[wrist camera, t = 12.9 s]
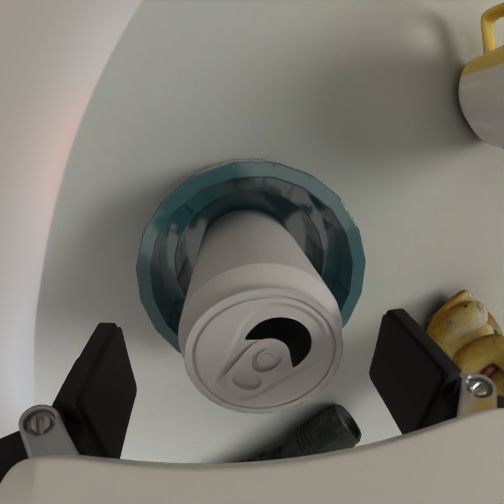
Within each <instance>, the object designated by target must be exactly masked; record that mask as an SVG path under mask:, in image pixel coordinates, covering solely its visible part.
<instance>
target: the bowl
mask: <svg viewBox="0 0 504 504" xmlns="http://www.w3.org/2000/svg"><path fill="white" fill-rule="evenodd" d="M241 209H255V210H260V211H264V212H266V213H269V214H271V215H272V216H274V217H276V218H277V219H278V220H280V221H281V222H282V223H283V224H284V225H285V227H286V228H287V229H288V231H289V232H290V234H291V235H292V236H293V238H294V239H295V241H296V242H297V244H298V245H299V246H300V248H301V249H302V251H303V252H304V254H305V255H306V257H307V258H308V259H309V261H310V262H311V264H312V265H313V267H314V268H315V270H316V271H317V273H318V274H319V276H320V277H321V278H322V280H323V281H324V283H325V284H326V286H327V287H328V289H329V290H330V292H331V293H332V295H333V296H334V298H335V300H336V302H337V304H338V308H339V311H340V314H341V318H342V328H343V327H344V326H345V325H346V324H347V322H348V320H349V318H350V316H351V314H352V312H353V310H354V308H355V306H356V303H357V301H358V299H359V297H360V295H361V291H362V284H363V277H364V269H365V256H364V251H363V246H362V241H361V236H360V231H359V229H358V226H357V225H356V223H355V221H354V220H353V218H352V216H351V215H350V213H349V211H348V210H347V208H346V206H345V205H344V203H343V201H342V200H341V199H340V197H338V196H337V195H336V194H335V193H334V192H332V191H331V190H330V189H329V188H327V187H326V186H325V185H324V184H322V183H321V182H320V181H319V180H317V179H316V178H315V177H314V176H312V175H310V174H308V173H305V172H302V171H299V170H297V169H294V168H291V167H288V166H285V165H282V164H279V163H276V162H272V161H269V160H265V159H233V160H229V161H226V162H223V163H220V164H217V165H214V166H211V167H208V168H206V169H203V170H201V171H200V172H198V173H197V174H196V175H194V176H193V177H192V178H190V179H189V180H188V181H186V182H185V183H184V184H183V185H181V186H180V187H179V188H178V189H176V190H175V191H174V192H173V193H171V194H170V195H169V196H168V197H167V198H165V199H164V200H163V201H162V203H161V204H160V206H159V208H158V209H157V211H156V212H155V214H154V216H153V217H152V219H151V220H150V222H149V224H148V225H147V227H146V229H145V230H144V233H143V236H142V240H141V245H140V250H139V255H138V260H137V265H136V271H137V278H138V285H139V292H140V298H141V302H142V304H143V306H144V308H145V310H146V312H147V314H148V316H149V318H150V320H151V321H152V323H153V325H154V327H155V329H156V330H157V331H158V332H159V333H160V334H161V335H162V336H163V337H164V338H165V339H166V340H167V341H168V342H169V343H170V344H171V345H172V346H173V347H174V348H175V349H176V350H177V351H178V352H179V353H181V351H180V346H179V340H178V330H179V323H180V318H181V314H182V311H183V307H184V303H185V299H186V295H187V292H188V288H189V284H190V281H191V277H192V273H193V270H194V266H195V262H196V259H197V255H198V252H199V248H200V245H201V242H202V239H203V237H204V235H205V233H206V231H207V230H208V228H209V227H210V226H211V225H212V224H213V223H214V222H215V221H216V220H217V219H219V218H220V217H221V216H223V215H225V214H227V213H230V212H232V211H236V210H241ZM181 354H182V353H181Z"/></svg>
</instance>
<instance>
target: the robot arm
mask: <svg viewBox="0 0 504 504" xmlns="http://www.w3.org/2000/svg"><path fill="white" fill-rule="evenodd" d="M461 371H462V370H461V369H460V368H459V367H458V366H457V365H456V364H455V362H454V361H453V360H452V359H451V358H450V357H449V356H448V355H447V354H446V353H445V352H444V351H443V349H442V348H441V347H440V346H439V345H438V344H437V343H436V342H435V341H434V340H433V339H432V338H431V337H430V336H429V335H428V334H427V333H426V332H425V330H424V329H423V328H422V327H421V326H420V325H419V324H418V323H417V322H416V321H415V320H414V319H413V318H412V317H411V316H410V315H409V314H408V313H407V312H406V311H405V310H404V309H394V310H388V311H387V313H386V314H385V315H383V317H382V321H381V326H380V331H379V335H378V339H377V343H376V348H375V352H374V356H373V359H372V363H371V367H370V373H369V374H370V378H371V380H372V382H373V384H374V386H375V387H376V389H377V391H378V392H379V394H380V396H381V398H382V399H383V401H384V403H385V405H386V406H387V408H388V410H389V412H390V413H391V415H392V417H393V419H394V420H395V422H396V424H397V426H398V427H399V429H400V431H401V433H402V435H400V436H396V437H393V438H389V439H385V440H382V441H378V442H374V443H370V444H366V445H361V446H357V447H352V448H347V449H342V450H337V451H332V452H327V453H321V454H315V455H308V456H301V457H294V458H286V459H277V460H267V461H255V462H239V463H207V464H196V463H164V462H147V461H134V460H124V459H120V456H121V452H122V448H123V443H124V439H125V435H126V431H127V427H128V423H129V419H130V416H131V412H132V408H133V404H134V401H135V397H136V393H137V387H136V382H135V379H134V375H133V372H132V368H131V364H130V360H129V357H128V353H127V349H126V345H125V341H124V336H123V332H122V329H121V328H120V327H117V325H116V324H115V323H99V324H98V325H97V327H96V329H95V331H94V332H93V334H92V336H91V337H90V339H89V341H88V343H87V344H86V346H85V348H84V350H83V351H82V353H81V355H80V357H79V358H78V359H77V360H76V361H75V363H74V365H73V367H72V369H71V370H70V372H69V374H68V376H67V378H66V380H65V381H64V383H63V385H62V387H61V389H60V391H59V393H58V395H57V397H56V399H55V401H54V403H53V405H52V406H48V405H36V406H33V407H31V408H29V409H27V410H26V411H25V412H24V413H23V414H22V416H21V417H20V420H19V430H20V431H17V432H15V433H13V434H10V435H8V436H5V437H3V438H1V439H0V504H504V396H500V395H497V389H496V385H495V384H494V382H493V381H492V380H491V379H490V378H488V377H486V376H485V375H482V374H476V373H472V374H468V375H466V376H465V377H464V378H463V379H462V378H461V377H460V374H461Z"/></svg>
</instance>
